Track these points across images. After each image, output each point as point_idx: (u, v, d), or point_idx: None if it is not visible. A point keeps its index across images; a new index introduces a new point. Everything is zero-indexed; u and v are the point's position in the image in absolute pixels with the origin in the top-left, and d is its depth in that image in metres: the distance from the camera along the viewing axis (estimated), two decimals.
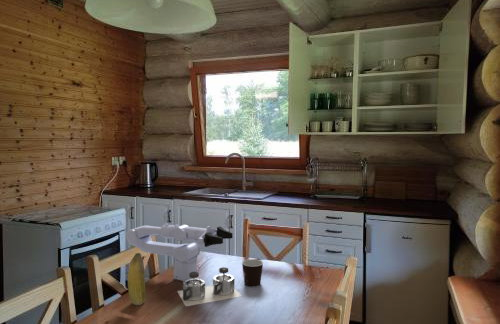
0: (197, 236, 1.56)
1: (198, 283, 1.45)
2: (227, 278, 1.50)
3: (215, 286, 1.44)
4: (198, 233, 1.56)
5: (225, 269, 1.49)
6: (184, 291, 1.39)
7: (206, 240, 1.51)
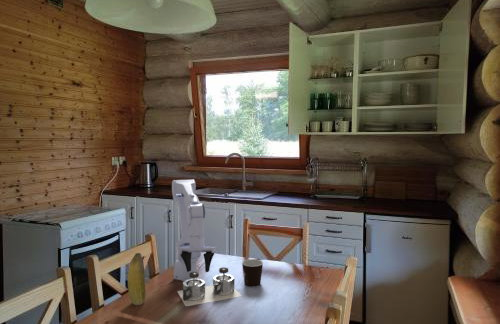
0: None
1: (198, 283, 1.45)
2: (227, 278, 1.50)
3: (215, 286, 1.44)
4: (189, 239, 1.45)
5: (225, 269, 1.49)
6: (184, 291, 1.39)
7: None
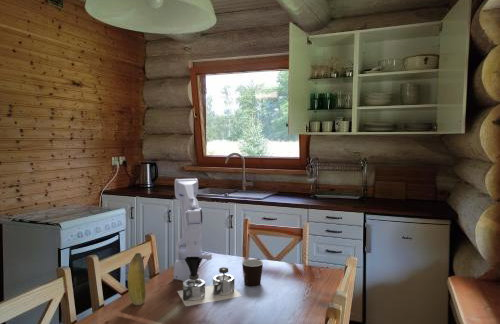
0: None
1: None
2: (227, 278, 1.50)
3: (215, 286, 1.44)
4: (186, 244, 1.44)
5: (225, 269, 1.49)
6: (184, 291, 1.39)
7: None
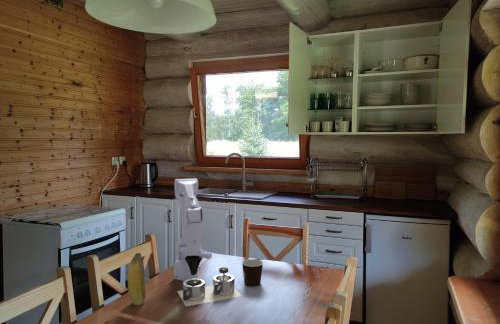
0: None
1: None
2: (227, 278, 1.50)
3: (215, 286, 1.44)
4: (186, 243, 1.44)
5: (225, 269, 1.49)
6: (184, 291, 1.39)
7: None
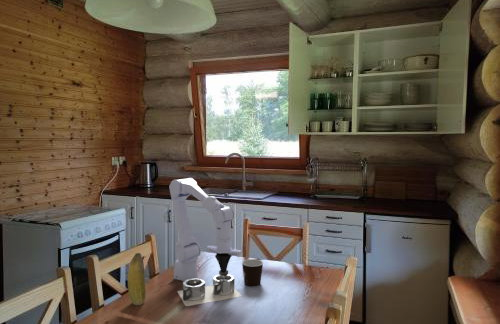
0: None
1: None
2: (227, 280, 1.50)
3: (215, 286, 1.44)
4: (216, 241, 1.49)
5: (225, 271, 1.49)
6: (184, 291, 1.39)
7: None
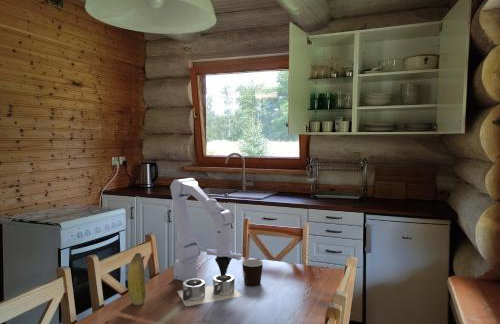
0: None
1: None
2: None
3: (215, 286, 1.44)
4: (216, 244, 1.49)
5: (225, 277, 1.50)
6: (184, 291, 1.39)
7: None
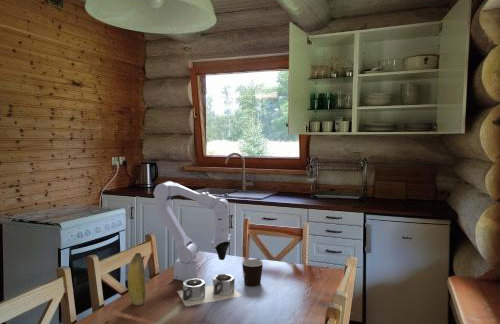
0: (218, 231, 1.57)
1: None
2: None
3: (215, 286, 1.44)
4: (221, 232, 1.57)
5: (225, 277, 1.50)
6: (184, 291, 1.39)
7: None
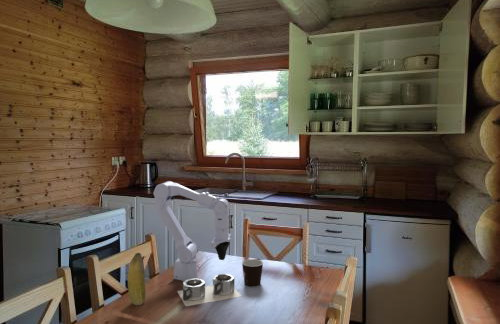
0: (218, 231, 1.57)
1: None
2: None
3: (215, 286, 1.44)
4: (221, 232, 1.57)
5: (225, 277, 1.50)
6: (184, 291, 1.39)
7: None
